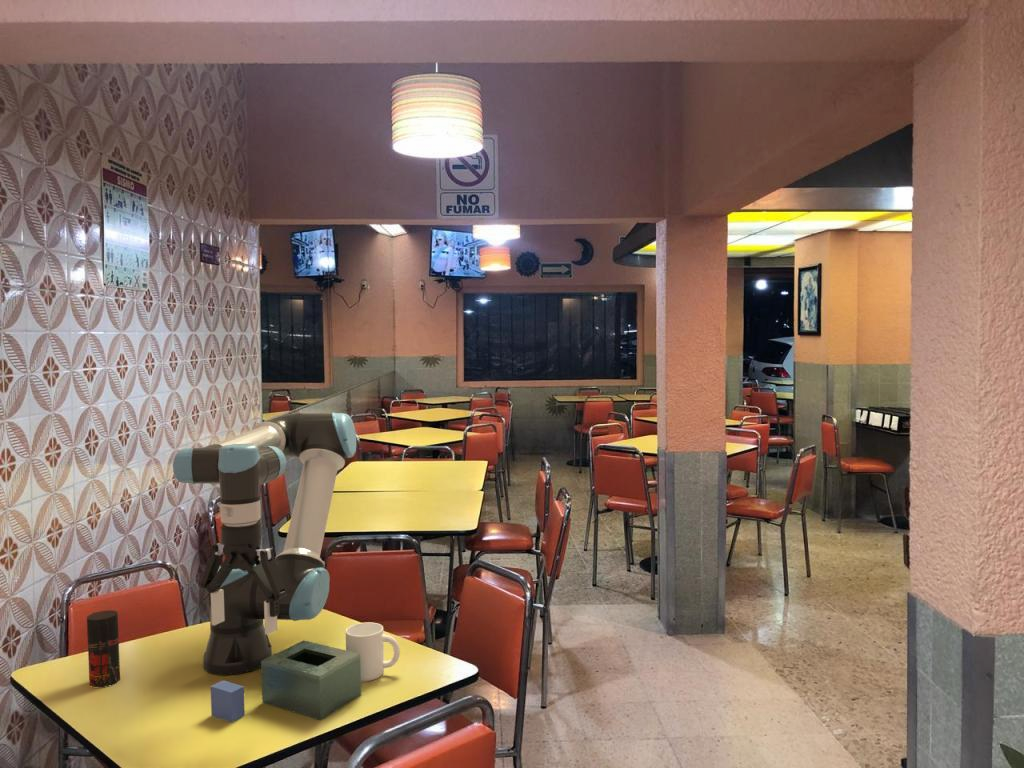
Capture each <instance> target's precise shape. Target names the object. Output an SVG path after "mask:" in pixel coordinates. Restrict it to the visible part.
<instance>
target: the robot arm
mask: <svg viewBox="0 0 1024 768" xmlns="http://www.w3.org/2000/svg"><path fill="white" fill-rule="evenodd" d="M356 434H357V433H356V428H355V425H354V421H353V419H352V418H351V416H350V415H349V414H348V413H347V414H346V413H342V412H341V413H337V412H333V411H332V412H330V413H328V412H327V413H326V412H325V413H324V412H322V413H321V412H319V413H317V412H313V413H311V412H309V413H303V412H301V413H300V412H297V413H296V412H295V413H288V414H284V415H281V416H277V417H273V418H271V419H267V420H264V421H262V422H259V423H256V425H254V427H253V428H252V429H251V430H249V431H246V432H243V433H240V434H237V435H235V436H233V437H232V436H231V437H229V438H227V439H224V440H222V441H219V442H216V443H213V444H210V445H207V446H204V447H193V446H192V447H189V448H182V449H179V450H178V451H177V452H176V454H175V455H174V458H173V461H172V472H173V476H174V478H175V479H176V481H178V482H179V483H181V484H192V485H197V484H208V485H209V484H219V497H220V498H219V505H220V507H219V509H220V510H219V511H220V522H221V523H222V525H221V526H220V542H218V543H214V544H212V545H211V546H210V556H209V559H208V560H207V561H208V562H207V563H206V567H205V569H204V572H203V575H202V577H201V580H200V583H199V586H200V588H201V589H206V592H208V605H209V606H208V607H209V623H210V624H209V625H210V630H209V631H210V634H209V638H208V641H207V645H206V649H205V652H204V654H203V656H202V657H203V658H202V662H203V663H202V664H203V665H202V666H203V670H204V671H206V672H207V673H210V674H214V675H221V676H223V675H224V676H228V675H238V674H239V675H240V674H243V673H248V672H251V671H255V670H258V669H259V668H260V669H261V661H262V660H264V659H266V658H268V657H270V656H272V655H273V647H272V644H271V642H270V639H269V636H268V635H270V634H272V633H274V632H277V631H278V621H279V620H281V621H283V620H284V621H294V622H298V621H307V620H308V621H309V620H312V619H315V618H316V617H317V616H319V614H320V613H321V612H322V610H323V608H324V607H325V604H326V603H327V599H328V597H329V592H330V583H331V582H330V581H331V578H330V573H329V572H328V570H327V569H326V568H325V565H326V564H325V562H324V561H323V560H322V558H321V553H322V552H321V551H322V547H323V543H324V538H325V533H326V527H327V524H328V518H329V513H330V508H331V503H332V500H333V493H334V489H335V484H336V479H337V474H338V471H340V470H341V469H343V468H344V466H345V465H346V460H347V459H351V458H353V457H354V456H355V455H356V451H357V435H356ZM287 457H288V458H299V460H300V462H301V463H302V465H303V466H302V470H301V475H300V479H299V483H298V488H297V492H296V497H295V500H294V504H293V507H292V508H293V509H292V513H291V518H290V521H289V526H288V531H287V534H286V539H285V543H284V546H283V551H282V552H281V553H279V554H277V555H276V556H274V555H275V554H274V548H273V547H268V548H263V549H261V546H260V541H261V540H262V522H260V520H261V518H262V513H261V512H262V511H261V487H260V486H262V485H264V484H268V483H271V482H274V481H275V480H277V478H279V477H281V476H282V474H283V473H284V472H285V471H286V467H287ZM224 557H225V559H224V560H223V558H224Z"/></svg>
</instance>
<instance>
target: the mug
mask: <svg viewBox="0 0 1024 768" xmlns="http://www.w3.org/2000/svg"><path fill="white" fill-rule="evenodd" d="M385 643H388V644H389V645H391V646H392V649H393V654H392V658H391V659H390V660H385V649H384V647H385V645H384V644H385ZM400 648H401V647H400V644H399V643H398V641H397V640H396V639H395V637H393V636H391V635H389V634H385V633H384V626H383V624H380V623H376V622H369V621H368V622H359V623H355V624H352V625H350V626H348V627H346V629H345V650H346V651H351V652H355V653H359V654H360V669H361V683H362V682H364V683H365V682H371V681H374V680H377V679H379V678H380V677H381V676H382V675H383V673H385V671H384V670H385V669H387V668H391V667H393V666H394V665H395V664H396V663H397V662H398V661H399V658H400V656H401V655H400V654H401V651H400V650H401V649H400Z"/></svg>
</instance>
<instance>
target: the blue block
mask: <svg viewBox="0 0 1024 768" xmlns="http://www.w3.org/2000/svg"><path fill="white" fill-rule="evenodd" d="M210 704H211V705H210V708H211V711H210V712H211V717H213V718H217V719H220V720H223V721H227V722H230V723H235V722H236V721H238V720H240V719H241V718H244V717H245V716H246V714H245V687H244V685H239V684H237V683H233V682H230V681H227V680H223V679H222V680H221V681H218V682H217V683H214V684H212V685H210Z"/></svg>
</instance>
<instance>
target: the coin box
mask: <svg viewBox="0 0 1024 768" xmlns="http://www.w3.org/2000/svg"><path fill="white" fill-rule="evenodd" d="M260 669H261V692H262V693H261V695H262V697H261V700H262V703H263V704H265V705H269V706H272V707H275V708H279V709H282V710H286V711H289V712H292V713H294V714H295V713H296V714H299V715H302V716H305V717H308V718H311V719H315V720H318V721H322V720H323V719H326V718H327V717H328V716H330V715H331V714H334V713H335V712H336V711H339V710H340V709H341V708H343V707H344V706H346V705H347V704H349V703H351V702H352V701H354V700H355V699H357V698H358V697H360V696H361V695H362V682H361V669H360V654H359V653H355V652H351V651H346V649H342V648H338V647H334V646H333V647H332V646H330V645H325V644H321V643H317V642H313V641H308V640H301V641H299V642H297V643H296V644H293V645H291V646H289V647H287V648H285V649H282V650H281V651H279V652H277V653H275V654H272V656H270V657H268V658H266V659H264V660H262V661H261V667H260Z"/></svg>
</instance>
